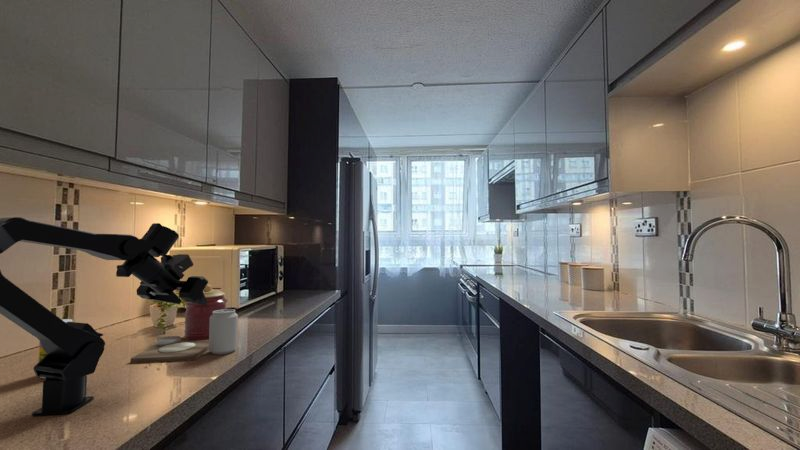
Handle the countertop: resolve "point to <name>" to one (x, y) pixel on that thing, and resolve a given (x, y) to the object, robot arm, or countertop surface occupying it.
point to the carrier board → (172, 350)
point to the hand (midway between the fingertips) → (193, 303)
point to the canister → (202, 314)
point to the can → (223, 331)
